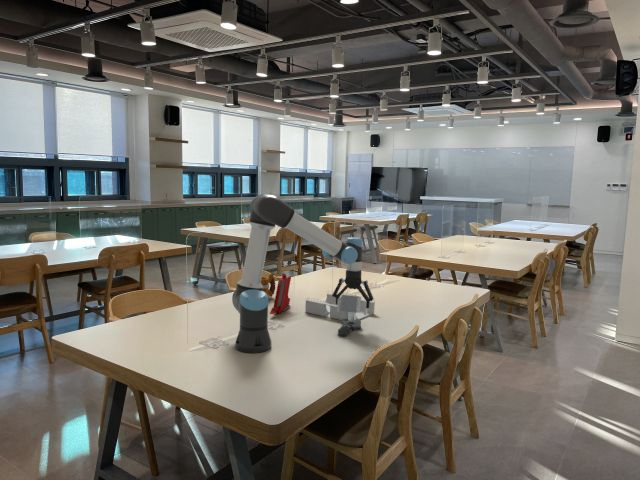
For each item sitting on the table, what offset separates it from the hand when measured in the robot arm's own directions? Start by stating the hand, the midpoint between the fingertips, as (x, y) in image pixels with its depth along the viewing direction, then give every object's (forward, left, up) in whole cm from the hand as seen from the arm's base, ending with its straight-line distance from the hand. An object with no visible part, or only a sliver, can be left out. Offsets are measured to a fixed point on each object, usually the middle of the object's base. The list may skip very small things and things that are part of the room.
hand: (352, 312), depth 230 cm
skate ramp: (+19, +14, -7) cm, 25 cm away
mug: (+31, +64, -7) cm, 72 cm away
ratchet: (0, 0, -7) cm, 7 cm away
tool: (+8, +43, -11) cm, 45 cm away
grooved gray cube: (0, 0, +5) cm, 5 cm away
